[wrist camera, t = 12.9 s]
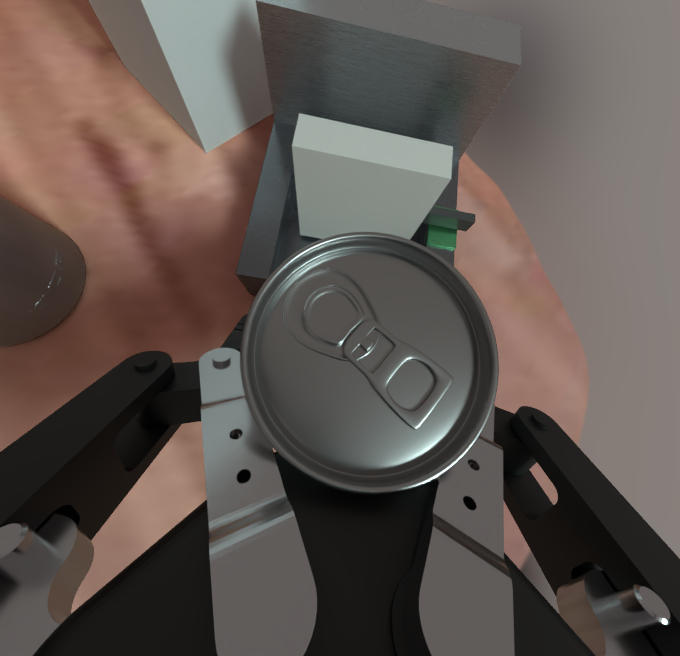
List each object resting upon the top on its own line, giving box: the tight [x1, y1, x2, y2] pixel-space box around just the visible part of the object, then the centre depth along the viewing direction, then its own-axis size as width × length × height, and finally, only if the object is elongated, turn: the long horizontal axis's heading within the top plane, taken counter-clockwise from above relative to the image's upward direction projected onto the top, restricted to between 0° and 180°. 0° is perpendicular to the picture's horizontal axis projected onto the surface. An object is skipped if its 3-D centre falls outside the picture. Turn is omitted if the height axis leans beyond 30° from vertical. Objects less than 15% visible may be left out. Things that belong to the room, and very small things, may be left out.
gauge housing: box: [236, 0, 521, 295], centre depth 17 cm, size 14×15×10 cm
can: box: [240, 232, 499, 495], centre depth 11 cm, size 6×6×12 cm
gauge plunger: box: [292, 113, 475, 240], centre depth 17 cm, size 12×2×8 cm, turn 82°
